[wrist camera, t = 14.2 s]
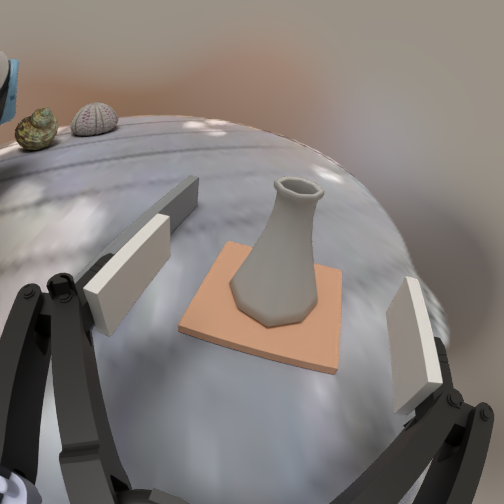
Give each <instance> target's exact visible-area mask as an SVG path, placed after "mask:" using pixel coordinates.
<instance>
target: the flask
mask: <svg viewBox="0 0 504 504" xmlns="http://www.w3.org/2000/svg"><path fill="white" fill-rule="evenodd" d="M274 187H275V189H276V190H277V195H276V200H275V205H274V209H273V211H272V213H271V216H270V218H269V221H268V223H267V225H266V228H265V230H264V231H263V233H262V234H261V236H260V237H259V239H258V241H257V242H256V244H255V245H254V247H253V248H252V250H251V252H250V253H249V255H248V256H247V258H246V259H245V260H244V262H243V263H242V265H241V266H240V267H239V269H238V270H237V272H236V273H235V275H234V276H233V278H232V279H231V281H230V282H229V285H230V287H231V290H232V293H233V296H234V299H235V302H236V305H237V308H239V309H240V310H242V311H243V312H245V313H247V314H248V315H250V316H251V317H253V318H254V319H256V320H257V321H259V322H261V323H262V324H264V325H265V326H267V327H270V326H277V325H283V324H289V323H295V322H301V321H303V319H304V318H305V317H306V316H307V315H308V314H309V312H310V311H311V310H312V309H313V308H314V306H315V305H316V304H317V303H318V296H317V286H316V278H315V270H314V258H313V247H312V229H313V216H314V212H315V208H316V204H317V202H318V200H319V199H321V198H322V197H323V195H324V192H325V191H324V190H323V189H322V188H321V187H319V186H318V185H317V184H316V183H314V182H311V181H309V180H306V179H304V178H301V177H288V176H284V177H282V178H279V179H277V180H275V181H274Z"/></svg>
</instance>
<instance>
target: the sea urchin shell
mask: <svg viewBox="0 0 504 504" xmlns="http://www.w3.org/2000/svg"><path fill="white" fill-rule="evenodd" d="M117 121H118V116H117V114H116V113H115V111H114V110H113V109H112V108H111V107H110V106H108V105H106V104H103V103H91V104H88V105H86V106H84V107H83V108H82V109H80V111H79V112H78V113H77V114H76V115H75V117H74V118H73V121H71V126H70V127H71V131H72V132H73V133H74V134H75V135H76V134H77V135H83V136H87V135H89V136H90V135H94V134H96V135H98V134H101V133H105V132H107V131H109V130H111V129H112V128H114V126H116V124H117V123H118V122H117Z"/></svg>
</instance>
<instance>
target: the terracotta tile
mask: <svg viewBox="0 0 504 504" xmlns="http://www.w3.org/2000/svg"><path fill="white" fill-rule="evenodd" d="M252 248H253V247H250V246H246V245H242V244H238V243H235V242H231V241H227V243H226V244H225V246H224V248H223V249H222V251H221V253H220V254H219V256H218V258H217V259H216V261H215V263H214V264H213V266H212V268H211V269H210V271H209V273H208V274H207V276H206V278H205V279H204V281H203V283H202V284H201V286H200V288H199V290H198V291H197V293H196V295H195V296H194V298H193V300H192V301H191V303H190V305H189V307H188V308H187V310H186V312H185V314H184V315H183V317H182V319H181V320H180V322H179V324H178V331H179V332H182V333H185V334H187V335H190V336H193V337H196V338H199V339H202V340H206V341H209V342H212V343H215V344H218V345H221V346H225V347H228V348H231V349H235V350H238V351H241V352H245V353H248V354H252V355H255V356H259V357H263V358H266V359H270V360H274V361H278V362H282V363H286V364H290V365H294V366H298V367H302V368H307V369H311V370H315V371H320V372H325V373H329V374H335V373H336V371H337V370H338V361H339V346H340V325H341V291H342V271H341V270H338V269H334V268H330V267H326V266H323V265H319V264H315V263H314V270H315V278H316V286H317V296H318V303H317V304H316V305H315V306H314V308H313V309H312V310H311V311H310V312H309V314H308V315H307V316H306V317H305V318H304V319H303V321H301V322H295V323H289V324H283V325H277V326H270V327H267V326H265V325H264V324H262V323H261V322H259V321H257V320H256V319H254V318H253V317H251V316H250V315H248V314H247V313H245V312H243V311H242V310H240V309H239V308H237V305H236V302H235V299H234V296H233V293H232V290H231V287H230V285H229V282H230V281H231V279H232V278H233V276H234V275H235V273H236V272H237V270H238V269H239V267H240V266H241V265H242V263H243V262H244V260H245V259H246V258H247V256H248V255H249V253H250V252H251V250H252Z"/></svg>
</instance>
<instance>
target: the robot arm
mask: <svg viewBox="0 0 504 504" xmlns="http://www.w3.org/2000/svg"><path fill="white" fill-rule="evenodd" d="M18 66H19V61H18V60H17V59H9V60H8V59H7V56H6V55H5V54H4V53H3V52H2V51H0V125H1V124H3V123H5V122H9V121H11V120H12V119H13V118H14V116H15V113H16V94H17V78H18ZM169 258H170V216H167V215H163V214H156V215H155V216H154V217H153V218H152V219H151V220H150V221H149V222H148V223H147V224H146V225H145V226H144V227H143V228H142V229H141V230H140V231H138V232H137V233H136V234H135V235H134V236H133V237H132V238H131V239H130V240H129V241H128V242H127V243H126V244H125V245H124V246H123V247H122V248H121V249H120V250H119V251H118V252H117V253H116V254H112V253H108V254H106V255H104V256H102V257H101V258H100V259H99V260H98V261H97V262H96V263H95V264H94V265H93V266H92V267H91V268H90V269H89V270H88V271H87V272H86V273H85V274H84V275H83V276H82V277H81V278H80V279H79V280H78V281H77V282H76V283H74V279H73V277H72V276H71V275H70V274H68V273H59V274H56V275H54V276H53V277H51V278H50V279H49V280H48V282H47V285H46V286H47V289H48V291H49V293H42V292H41V289H40V287H39V286H38V285H37V284H33V283H32V284H27V285H25V286H24V287H22V288H21V289H20V291H19V292H18V294H17V296H16V299H15V301H14V304H13V306H12V309H11V311H10V314H9V316H8V319H7V321H6V324H5V327H4V330H3V333H2V335H1V338H0V504H41V503H42V497H41V496H40V494H39V492H38V490H37V488H36V487H35V482H36V476H37V469H38V452H39V436H40V424H41V415H42V406H43V399H44V392H45V386H46V380H47V374H48V368H49V363H50V358H51V355H52V374H53V386H54V396H55V405H56V413H57V420H58V426H59V432H60V438H61V443H62V451H61V453H60V454H59V462H60V467H61V471H62V475H63V479H64V483H65V487H66V490H67V494H68V497H69V501H70V504H189V503H188V502H186V501H185V500H183V499H181V498H179V497H176V496H173V495H170V494H168V493H165V492H163V491H160V490H158V489H155V488H153V490H146V489H135V490H132V487H131V484H130V482H129V479H128V477H127V474H126V472H125V470H124V469H123V467H122V465H121V462H120V460H119V457H118V453H117V450H116V447H115V443H114V440H113V436H112V433H111V429H110V425H109V422H108V418H107V413H106V409H105V405H104V401H103V396H102V391H101V386H100V381H99V376H98V370H97V364H96V358H95V352H94V345H93V337H92V332H91V327H92V326H93V325H94V324H95V326H96V329H97V331H98V332H100V333H102V334H104V335H106V336H109V337H111V336H112V334H113V333H114V332H115V330H116V329H117V327H118V326H119V325H120V323H121V322H122V320H123V319H124V318H125V316H126V315H127V313H128V312H129V311H130V309H131V308H132V307H133V305H134V304H135V303H136V301H137V300H138V298H139V297H140V296H141V294H142V293H143V292H144V290H145V289H146V288H147V286H148V285H149V284H150V282H151V281H152V280H153V279H154V277H155V276H156V275H157V273H158V272H159V271H160V269H161V268H162V267H163V266H164V264H165V263H166V262H167V260H168V259H169ZM386 317H387V325H388V333H389V343H390V353H391V364H392V378H393V396H394V414H404V415H408V414H410V413H411V412H412V411H413V410H414V409H415V414H416V416H415V417H414V418H412V419H411V420H410V421H408V422H407V423H406V424H405V425H403V426H404V427H405V428H404V429H403V430H402V432H401V433H400V434H399V435H398V436H397V438H396V439H395V440H394V441H393V442H392V443H391V444H390V446H389V447H388V448H387V449H386V450H385V451H384V452H383V453H382V454H381V455H380V457H379V458H378V459H377V460H376V461H375V462H374V463H373V464H372V465H371V466H370V467H369V468H368V469H367V470H366V471H365V472H364V473H363V474H362V475H361V476H360V477H359V478H358V479H357V480H356V481H355V482H354V483H352V484H351V485H350V486H349V487H348V488H347V489H346V490H345V491H344V492H343V493H341V494H340V495H339V496H338V497H337V498H336V499H334V500H333V501H332V502H331V503H330V504H397V503H398V502H399V501H400V500H401V499H402V498H403V496H404V495H405V494H406V493H407V492H408V490H409V489H410V488H411V487H412V485H413V484H414V483H415V482H416V480H417V479H418V478H419V476H420V475H421V474H422V472H423V471H424V470H425V468H426V467H427V466H428V464H429V463H430V461H431V460H432V458H433V460H432V462H431V465H430V467H429V469H428V472H427V474H426V476H425V479H424V481H423V483H422V485H421V487H420V489H419V491H418V493H417V495H416V497H415V499H414V501H413V503H412V504H472V501H473V498H474V496H475V493H476V489H477V487H478V483H479V480H480V477H481V474H482V470H483V467H484V463H485V459H486V455H487V451H488V447H489V443H490V438H491V433H492V428H493V422H494V413H493V410H492V408H491V407H490V406H489V405H488V404H487V403H484V402H482V403H480V404H478V405H477V406H476V407H473V406H471V405H469V404H466V403H464V400H463V397H462V395H461V394H460V393H459V391H457V390H456V389H454V388H453V383H452V377H451V372H450V368H449V364H448V359H447V357H446V356H447V354H446V350H445V346H444V344H443V343H442V341H441V339H440V338H438V337H433V333H432V329H431V325H430V321H429V317H428V313H427V309H426V306H425V302H424V299H423V295H422V292H421V289H420V285H419V282H418V279H414V278H410V277H407V276H406V277H405V279H404V281H403V283H402V285H401V287H400V288H399V290H398V292H397V294H396V296H395V297H394V299H393V301H392V303H391V304H390V306H389V308H388V310H387V311H386Z"/></svg>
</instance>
